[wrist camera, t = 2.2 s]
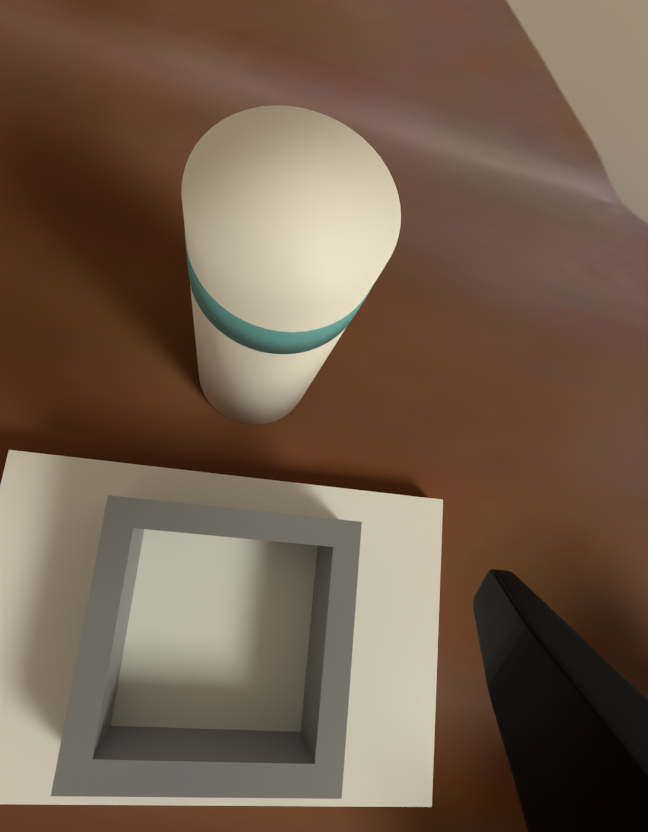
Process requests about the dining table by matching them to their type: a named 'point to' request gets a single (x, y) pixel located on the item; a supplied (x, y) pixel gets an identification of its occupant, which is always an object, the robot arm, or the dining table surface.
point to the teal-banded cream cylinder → (280, 251)
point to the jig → (213, 639)
